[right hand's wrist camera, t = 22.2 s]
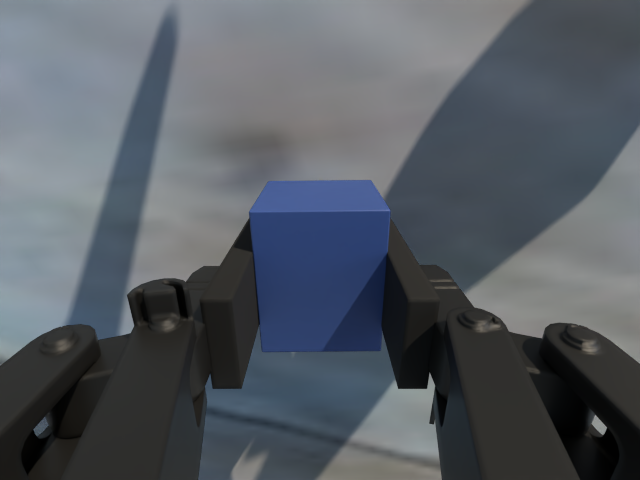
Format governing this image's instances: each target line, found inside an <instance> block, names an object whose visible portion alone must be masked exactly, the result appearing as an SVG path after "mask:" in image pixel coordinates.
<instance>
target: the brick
mask: <svg viewBox="0 0 640 480" xmlns="http://www.w3.org/2000/svg"><path fill="white" fill-rule="evenodd" d="M390 212H391V211H390V209H389V207H388V206H387V204H386V203H385V201H384V200H383V198H382V197H381V195H380V193H379V192H378V190H377V189H376V187H375V186H374V184H373V183H372V181H371V180H337V181H269V182H268V183H267V184H266V186H265V188H264V189H263V191H262V192H261V194H260V195H259V197H258V199H257V200H256V202H255V203H254V205H253V207H252V208H251V210H250V211H249V218H250V228H251V239H252V250H253V260H254V272H255V282H256V293H257V304H258V315H259V326H260V337H261V347H262V352H323V351H380V350H381V341H382V327H381V322H382V310H383V297H384V285H385V272H386V259H387V252H388V240H389V226H390Z"/></svg>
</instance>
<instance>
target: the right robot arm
mask: <svg viewBox="0 0 640 480" xmlns="http://www.w3.org/2000/svg"><path fill="white" fill-rule="evenodd" d="M127 297H128V301H129V305H130V309H131V314H132V318H133V322H134V328H133V330H132V332H131V333H130V334H126V335H122V336H117V337H112V338H106V339H101V340H98V339H97V335H96V332H95V329H93V328H92V327H91V326H88V325H82V324H79V325H67V326H63V327H59V328H55V329H53V330H51V331H49V332H47V333H45V334H42V335H41V336H39V337H37V338H36V339H34V340H33V341H31V342H30V343H29V344H27V345H26V346H25V347H24V348H22V349H21V350H20V351H18V352H17V353H16V354H15V355H13V356H12V357H11V358H10V359H8V360H7V361H6V362H5V363H3V364H2V365H1V366H0V480H198V476H199V467H200V459H201V450H202V441H203V433H204V424H205V415H206V406H207V398H206V391H205V385H206V382H207V380H208V377H209V375H210V374H211V380H212V387H213V389H241V388H242V385H243V381H244V377H245V374H246V370H247V367H248V363H249V359H250V356H251V352H252V348H253V345H254V341H255V337H256V334H257V330H258V326H259V315H258V304H257V293H256V282H255V272H254V260H253V250H252V239H251V228H250V218H249V219H248V221H247V223H246V224H245V226H244V227H243V229H242V231H241V232H240V234H239V236H238V237H237V239H236V240H235V242H234V244H233V245H232V247H231V249H230V250H229V252H228V254H227V255H226V257H225V258H224V260H223V262H222V263H221V265H220V266H203V267H202V268H200V269H198V270H197V271H195V272H194V273H192V274H191V276H190V277H189V278H188V280H187V281H186V282H185V281H183V280H180V279H175V278H167V279H159V280H153V281H150V282H147V283H144V284H141V285H140V286H138V287H136V288H134V289H133V290H132V291H131V292H130V293H129V294H128V295H127ZM381 327H382V331H383V335H384V338H385V342H386V346H387V349H388V353H389V357H390V360H391V364H392V368H393V371H394V375H395V378H396V382H397V386H398V389H427V385H428V379H429V372H430V374H431V376H432V379H433V381H434V384H435V391H434V398H433V404H432V410H431V416H430V423H429V424H434V421H435V423H436V432H437V440H438V449H439V458H440V466H441V475H442V480H640V364H639V363H638V362H637V361H635V360H634V359H633V358H632V357H630V356H629V355H628V354H627V353H625V352H624V351H623V350H622V349H620V348H619V347H618V346H616V345H615V344H614V343H613V342H611V341H610V340H609V339H607V338H605V337H604V336H602V335H601V334H599V333H597V332H595V331H592V330H590V329H588V328H587V327H584V326H581V325H579V326H578V325H577V324H568V323H555V324H550V325H549V326H547V327H546V328H545V331H544V334H543V338H536V337H531V336H526V335H521V334H516V333H512V332H509V331H508V329H507V327H506V325H505V324H504V323H503V321H502V320H501V319H500V318H498V317H497V316H495V315H494V314H492V313H490V312H487V311H485V310H482V309H478V308H474V307H473V305H472V304H471V303H470V301H469V300H468V299H467V297H466V296H465V295H464V293H463V292H462V291H461V289H459V287H458V285H457V284H456V283H455V282H454V280H453V279H452V277H451V276H450V275H449V273H448V272H447V271H445V270H443V269H442V268H440V267H438V266H437V265H419V264H418V262H417V261H416V259H415V257H414V256H413V254H412V252H411V251H410V249H409V247H408V246H407V244H406V243H405V241H404V239H403V238H402V236H401V234H400V233H399V231H398V230H397V228H396V226H395V225H394V223H393V221H392V220H391V218H390V226H389V240H388V252H387V259H386V272H385V285H384V297H383V310H382V322H381ZM595 415H596V416H597V417H598V418H599V419H600V420H601V421H602V422H603V423H604V424H605V426H606V427H607V430H606V432H605V434H604V435H602V434H601V433H599V432H598V431H597V430H596V429H595V427H594V426H593V425H592V421H593V419H594V416H595ZM44 417H46V420H47V422H48V424H49V426H48V427H47V428H46V429H45V430H44V431H43V432H42V433H41V434H40V435H39V436H36V435H35V433H34V430H33V429H34V428H35V427H36V426H37V425H38V423H39V422H40V421H41V420H42V419H43V418H44Z"/></svg>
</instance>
